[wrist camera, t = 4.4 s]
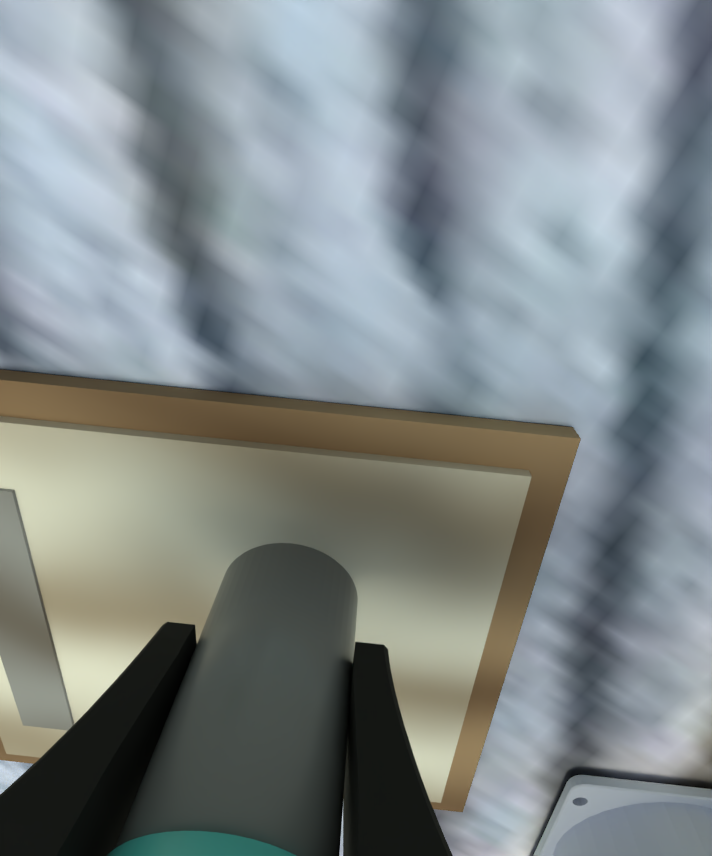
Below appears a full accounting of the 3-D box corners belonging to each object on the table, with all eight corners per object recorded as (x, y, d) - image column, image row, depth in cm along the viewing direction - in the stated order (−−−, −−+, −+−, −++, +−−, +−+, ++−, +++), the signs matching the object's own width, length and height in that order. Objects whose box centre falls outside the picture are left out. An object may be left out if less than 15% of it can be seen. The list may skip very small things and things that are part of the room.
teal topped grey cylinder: (354, 654, 14) (323, 1077, 7) (219, 638, 14) (73, 1046, 8) (369, 549, 12) (347, 975, 6) (217, 530, 12) (27, 936, 6)
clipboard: (460, 794, 20) (465, 833, 19) (-36, 739, 21) (-62, 773, 19) (572, 427, 13) (590, 453, 12) (-199, 349, 13) (-254, 367, 12)
